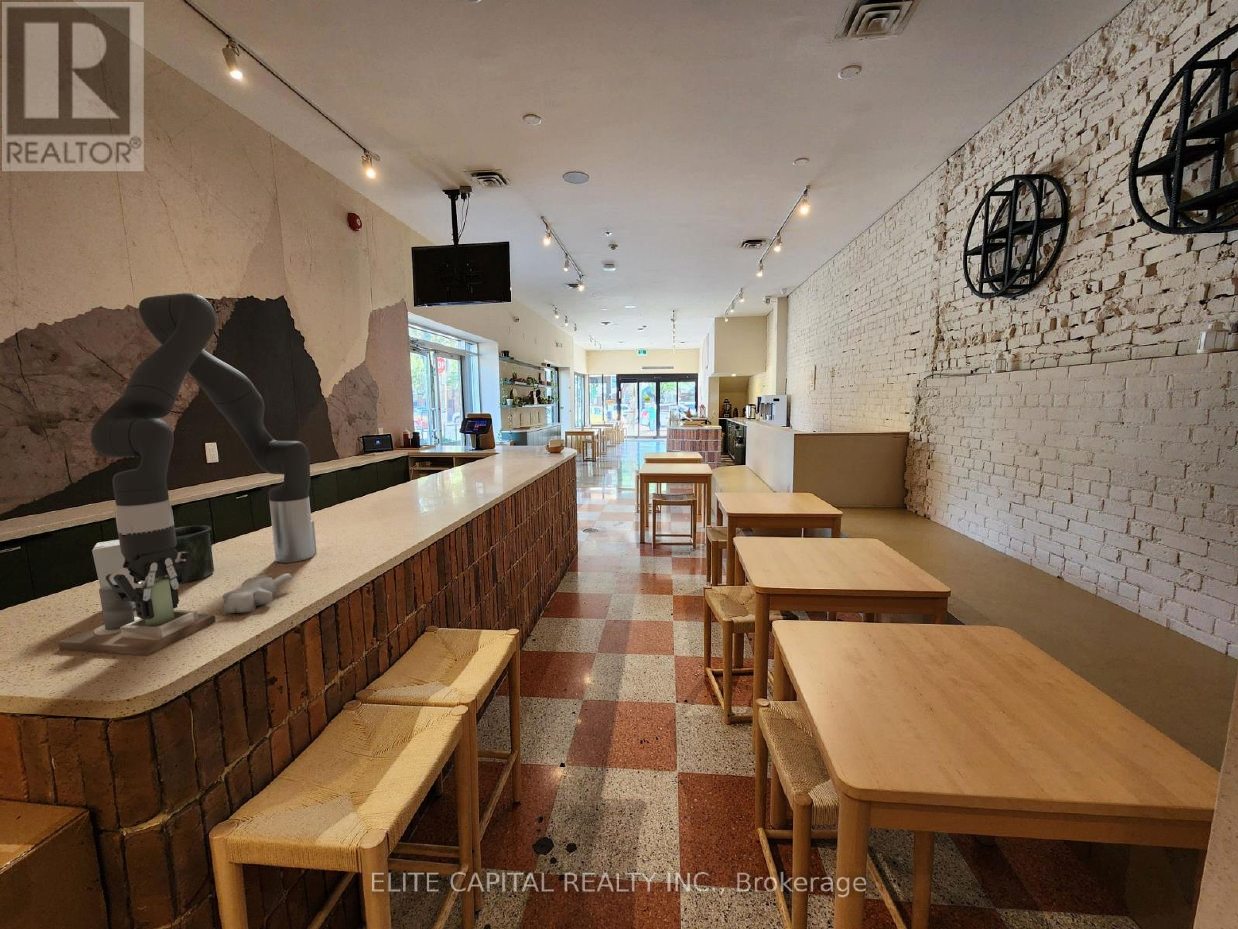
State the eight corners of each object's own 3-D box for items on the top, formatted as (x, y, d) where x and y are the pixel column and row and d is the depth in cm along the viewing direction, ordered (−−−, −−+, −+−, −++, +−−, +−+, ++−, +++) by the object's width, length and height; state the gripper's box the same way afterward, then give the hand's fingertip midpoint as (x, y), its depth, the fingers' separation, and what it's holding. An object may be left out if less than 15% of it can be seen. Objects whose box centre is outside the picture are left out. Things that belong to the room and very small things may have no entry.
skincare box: (160, 596, 111) (151, 533, 108) (157, 605, 106) (148, 540, 104) (107, 606, 105) (97, 540, 103) (102, 616, 101) (91, 547, 98)
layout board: (138, 616, 100) (131, 573, 99) (215, 621, 98) (209, 577, 97) (59, 649, 88) (50, 599, 86) (146, 655, 85) (138, 605, 84)
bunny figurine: (207, 600, 99) (252, 566, 114) (212, 622, 101) (256, 586, 115) (256, 598, 100) (295, 565, 115) (260, 620, 102) (298, 584, 116)
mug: (146, 587, 116) (139, 538, 114) (189, 566, 130) (183, 522, 128) (197, 584, 118) (190, 536, 116) (234, 563, 132) (229, 521, 130)
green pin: (162, 616, 94) (156, 577, 93) (180, 617, 94) (174, 578, 93) (139, 626, 90) (133, 585, 89) (158, 627, 90) (152, 586, 89)
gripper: (168, 515, 97) (179, 597, 99) (82, 536, 83) (98, 630, 85) (201, 516, 96) (212, 598, 98) (120, 537, 82) (135, 632, 84)
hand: (159, 612), depth 92 cm, fingers closed on green pin, 3 cm apart
